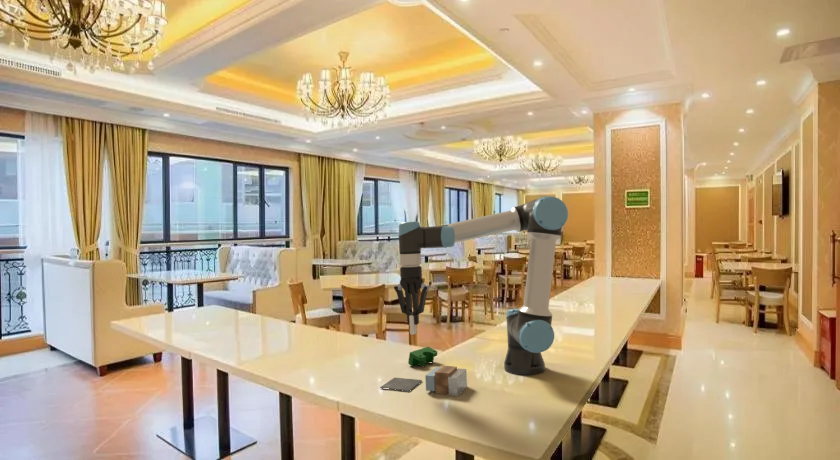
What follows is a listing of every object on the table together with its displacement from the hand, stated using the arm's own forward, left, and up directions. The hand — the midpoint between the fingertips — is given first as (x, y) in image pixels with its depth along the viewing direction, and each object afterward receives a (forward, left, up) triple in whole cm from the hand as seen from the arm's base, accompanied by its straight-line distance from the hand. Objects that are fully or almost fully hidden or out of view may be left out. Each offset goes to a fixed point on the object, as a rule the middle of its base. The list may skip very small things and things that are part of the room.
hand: (413, 333), depth 157 cm
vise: (-2, 0, -18) cm, 19 cm away
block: (-12, 0, -19) cm, 22 cm away
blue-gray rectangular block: (-7, 0, -18) cm, 20 cm away
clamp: (+8, -26, -19) cm, 33 cm away
